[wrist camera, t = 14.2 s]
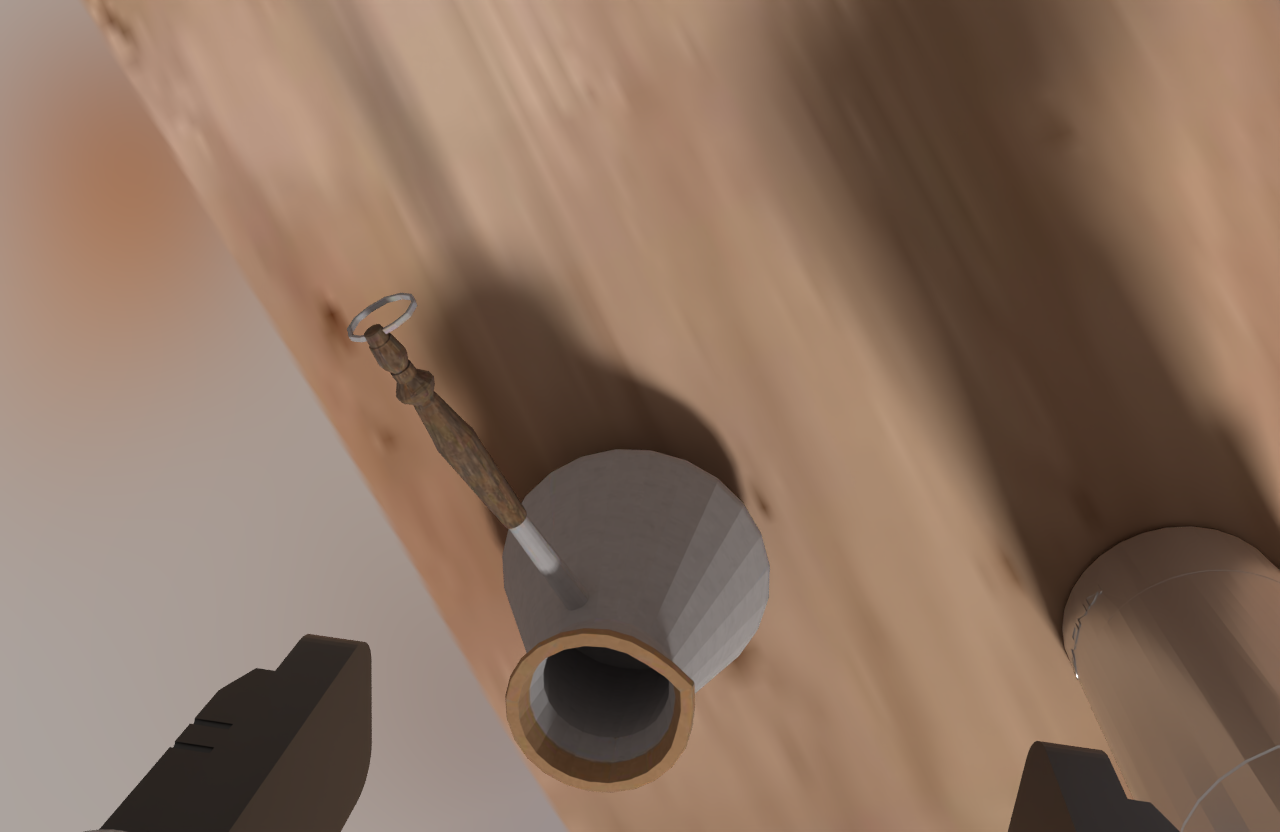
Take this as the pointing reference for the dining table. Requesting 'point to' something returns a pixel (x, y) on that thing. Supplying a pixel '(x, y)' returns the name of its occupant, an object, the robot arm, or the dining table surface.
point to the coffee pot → (605, 590)
